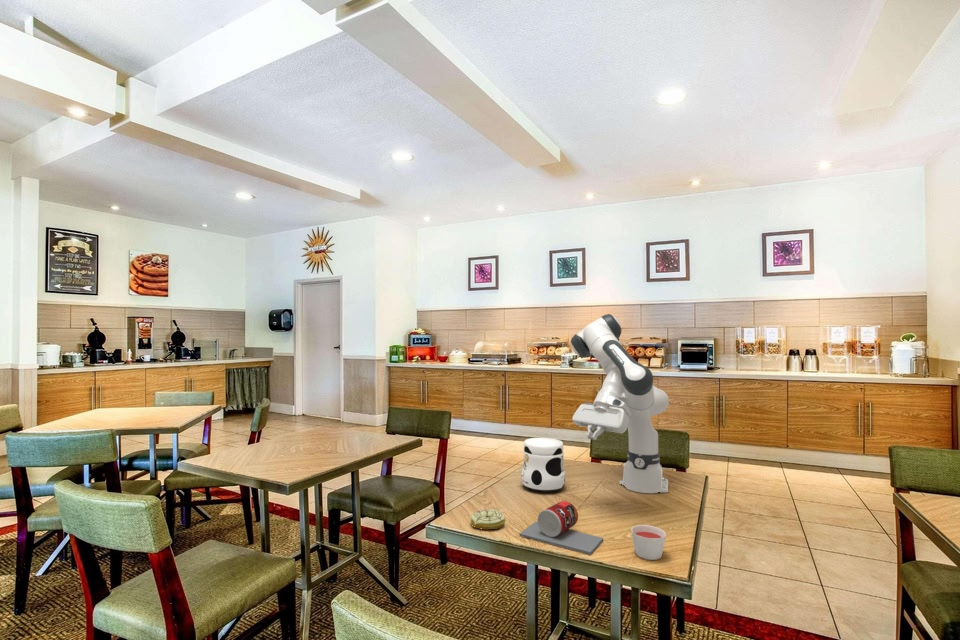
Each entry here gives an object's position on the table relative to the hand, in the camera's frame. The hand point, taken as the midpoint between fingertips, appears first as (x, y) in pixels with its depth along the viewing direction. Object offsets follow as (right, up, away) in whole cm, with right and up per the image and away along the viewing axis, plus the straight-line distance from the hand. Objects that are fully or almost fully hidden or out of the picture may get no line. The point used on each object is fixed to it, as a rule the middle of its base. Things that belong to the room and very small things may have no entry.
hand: (590, 438), depth 162 cm
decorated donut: (-35, -25, -10) cm, 44 cm away
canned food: (-10, -20, -12) cm, 26 cm away
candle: (+9, -25, -30) cm, 40 cm away
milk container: (-13, -26, +26) cm, 39 cm away
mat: (-14, -25, -20) cm, 35 cm away
